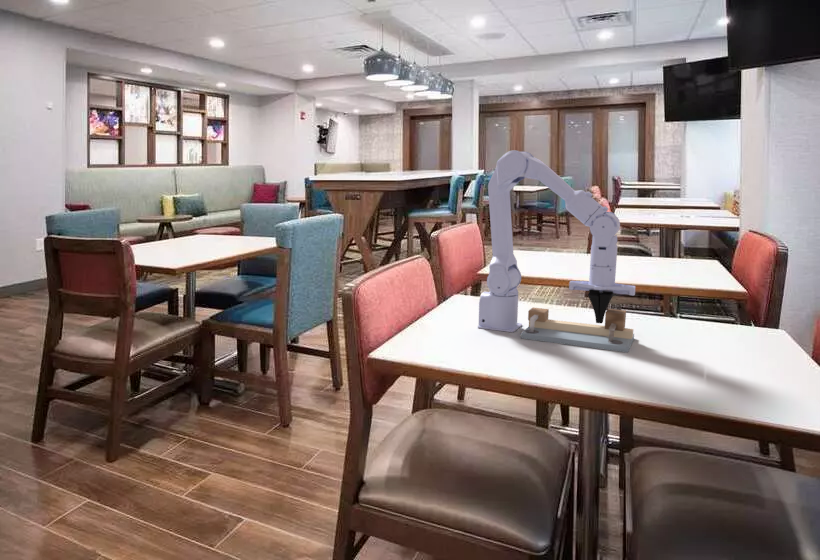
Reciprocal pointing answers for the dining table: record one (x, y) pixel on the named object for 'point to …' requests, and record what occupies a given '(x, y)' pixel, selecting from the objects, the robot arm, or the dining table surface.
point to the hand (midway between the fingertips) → (599, 322)
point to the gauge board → (574, 333)
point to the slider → (614, 321)
